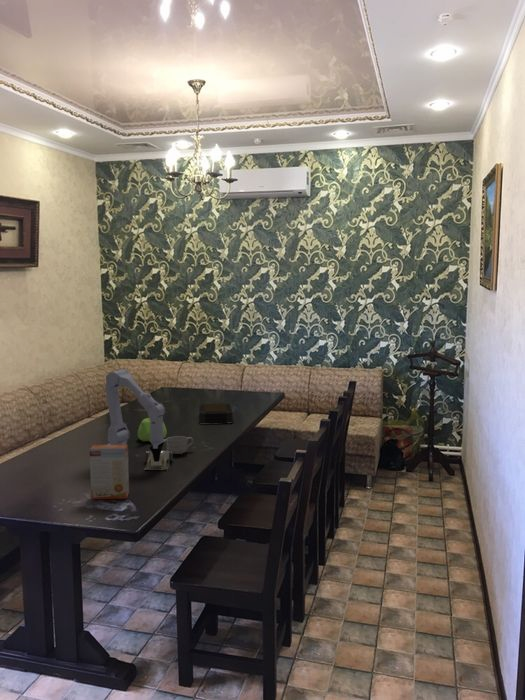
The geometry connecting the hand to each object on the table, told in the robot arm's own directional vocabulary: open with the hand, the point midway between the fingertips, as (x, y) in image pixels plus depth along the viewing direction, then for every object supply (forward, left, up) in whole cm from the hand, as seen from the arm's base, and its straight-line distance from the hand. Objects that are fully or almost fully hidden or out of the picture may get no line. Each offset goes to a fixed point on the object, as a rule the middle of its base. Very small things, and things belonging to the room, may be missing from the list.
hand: (157, 459), depth 268 cm
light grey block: (0, 0, -2) cm, 2 cm away
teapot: (-8, +46, -4) cm, 47 cm away
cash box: (+26, +91, -4) cm, 95 cm away
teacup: (+9, +22, -4) cm, 24 cm away
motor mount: (0, +3, -4) cm, 5 cm away
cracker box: (-15, -35, -4) cm, 38 cm away
